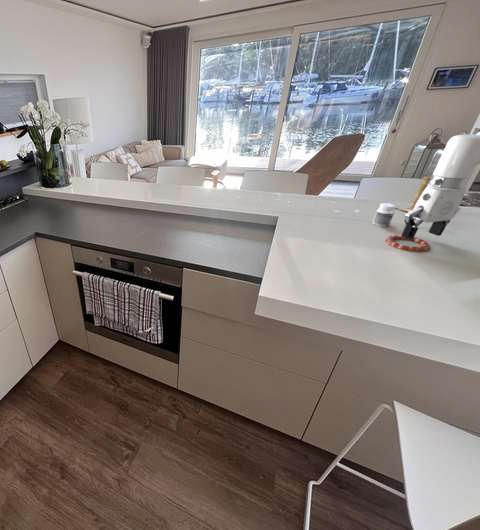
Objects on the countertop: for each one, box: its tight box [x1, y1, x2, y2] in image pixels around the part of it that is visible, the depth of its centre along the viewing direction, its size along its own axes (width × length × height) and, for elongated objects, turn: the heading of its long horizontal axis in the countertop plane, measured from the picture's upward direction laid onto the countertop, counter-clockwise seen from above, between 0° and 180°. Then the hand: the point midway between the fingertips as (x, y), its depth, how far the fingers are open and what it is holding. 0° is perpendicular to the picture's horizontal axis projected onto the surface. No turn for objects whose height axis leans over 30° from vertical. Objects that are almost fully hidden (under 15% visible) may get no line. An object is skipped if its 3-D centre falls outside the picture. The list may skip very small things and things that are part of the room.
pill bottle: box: [371, 202, 396, 228], centre depth 103 cm, size 5×5×8 cm
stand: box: [406, 176, 432, 212], centre depth 112 cm, size 8×8×13 cm
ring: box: [384, 234, 431, 253], centre depth 91 cm, size 10×10×2 cm
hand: (420, 235), depth 91 cm, fingers open, 9 cm apart
